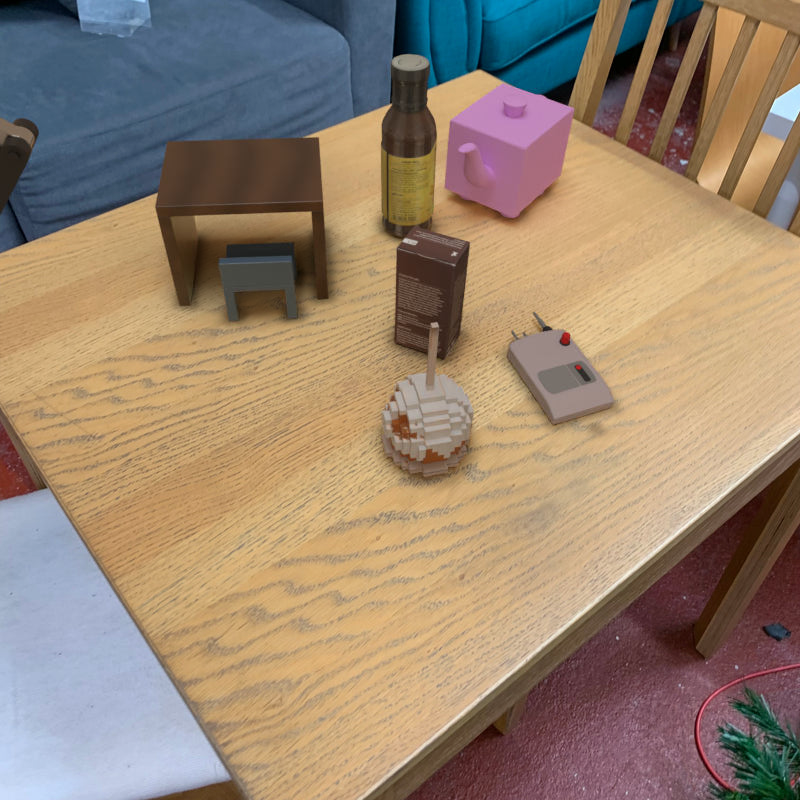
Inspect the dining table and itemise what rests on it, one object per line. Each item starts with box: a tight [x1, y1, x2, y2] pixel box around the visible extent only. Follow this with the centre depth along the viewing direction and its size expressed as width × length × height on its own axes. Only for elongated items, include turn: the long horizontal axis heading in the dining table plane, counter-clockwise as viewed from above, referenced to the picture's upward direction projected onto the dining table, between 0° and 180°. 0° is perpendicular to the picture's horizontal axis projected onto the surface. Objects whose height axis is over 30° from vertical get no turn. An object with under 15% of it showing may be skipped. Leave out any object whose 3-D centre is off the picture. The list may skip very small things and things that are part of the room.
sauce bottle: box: [380, 53, 438, 239], centre depth 86 cm, size 6×6×20 cm
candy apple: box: [380, 322, 475, 478], centre depth 65 cm, size 8×8×15 cm
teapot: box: [443, 82, 576, 219], centre depth 93 cm, size 20×10×12 cm, turn 144°
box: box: [393, 226, 471, 360], centre depth 75 cm, size 6×4×12 cm
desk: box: [154, 136, 329, 307], centre depth 82 cm, size 16×12×12 cm
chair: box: [218, 241, 298, 322], centre depth 81 cm, size 7×7×8 cm
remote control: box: [506, 311, 615, 425], centre depth 76 cm, size 7×16×3 cm, turn 22°
